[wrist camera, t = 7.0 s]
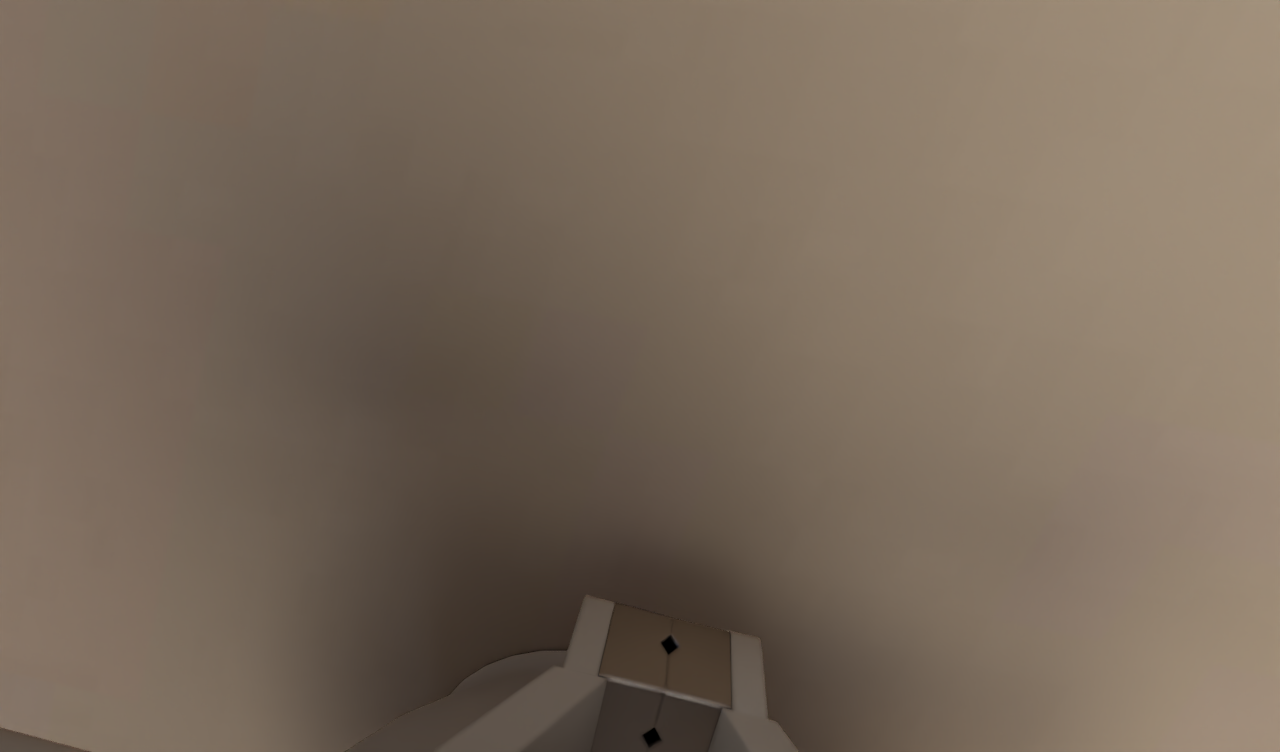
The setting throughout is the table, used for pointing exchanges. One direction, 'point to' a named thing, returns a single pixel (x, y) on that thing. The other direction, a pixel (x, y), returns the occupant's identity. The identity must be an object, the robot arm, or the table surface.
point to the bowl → (460, 705)
